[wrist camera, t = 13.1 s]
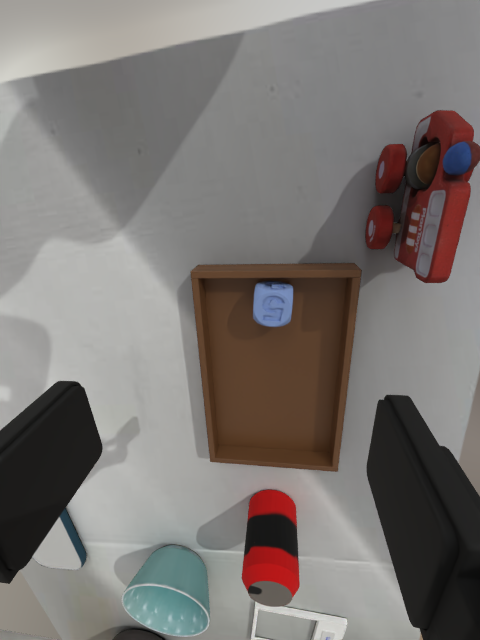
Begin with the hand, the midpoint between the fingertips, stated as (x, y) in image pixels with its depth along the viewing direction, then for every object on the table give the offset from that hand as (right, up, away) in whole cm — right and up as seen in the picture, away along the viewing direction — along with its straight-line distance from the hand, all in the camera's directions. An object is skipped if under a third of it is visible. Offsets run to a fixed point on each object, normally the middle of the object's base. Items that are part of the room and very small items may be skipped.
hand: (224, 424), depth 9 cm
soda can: (+6, -27, +39) cm, 48 cm away
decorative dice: (+4, +6, +25) cm, 26 cm away
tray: (+5, -3, +29) cm, 30 cm away
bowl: (-11, -43, +49) cm, 66 cm away
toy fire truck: (+17, +16, +20) cm, 31 cm away
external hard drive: (-37, -37, +49) cm, 72 cm away
